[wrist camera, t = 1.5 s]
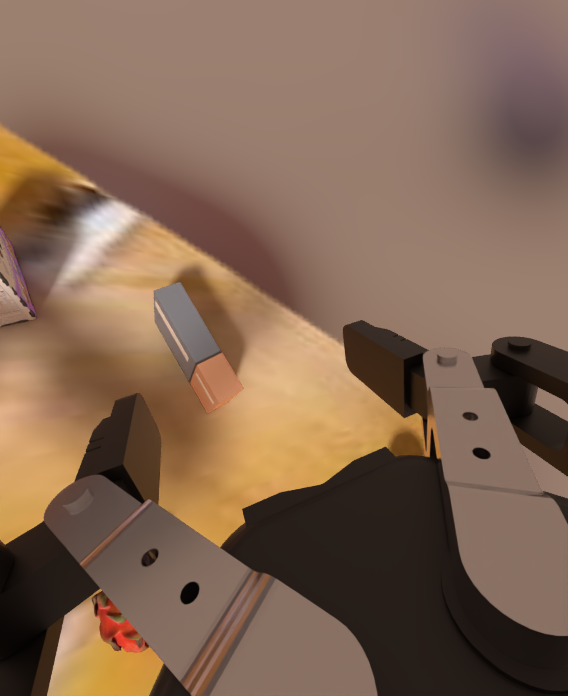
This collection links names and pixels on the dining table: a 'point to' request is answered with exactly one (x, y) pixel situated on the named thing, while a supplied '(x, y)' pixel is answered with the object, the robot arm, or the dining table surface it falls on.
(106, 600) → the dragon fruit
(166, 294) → the gray block
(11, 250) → the candy box
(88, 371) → the dining table surface
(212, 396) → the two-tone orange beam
